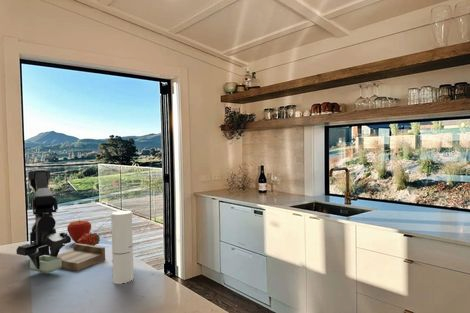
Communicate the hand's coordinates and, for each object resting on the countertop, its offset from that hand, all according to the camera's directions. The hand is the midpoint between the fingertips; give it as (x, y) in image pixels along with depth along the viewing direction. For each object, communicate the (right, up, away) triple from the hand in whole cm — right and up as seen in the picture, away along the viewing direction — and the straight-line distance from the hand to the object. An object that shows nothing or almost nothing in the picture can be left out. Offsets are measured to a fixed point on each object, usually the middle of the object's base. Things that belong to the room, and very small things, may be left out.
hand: (45, 266), depth 125 cm
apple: (-8, -3, +43) cm, 44 cm away
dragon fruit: (+2, -3, +32) cm, 33 cm away
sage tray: (0, -1, 0) cm, 1 cm away
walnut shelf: (+6, -3, +13) cm, 14 cm away
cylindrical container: (+33, -3, -7) cm, 34 cm away
